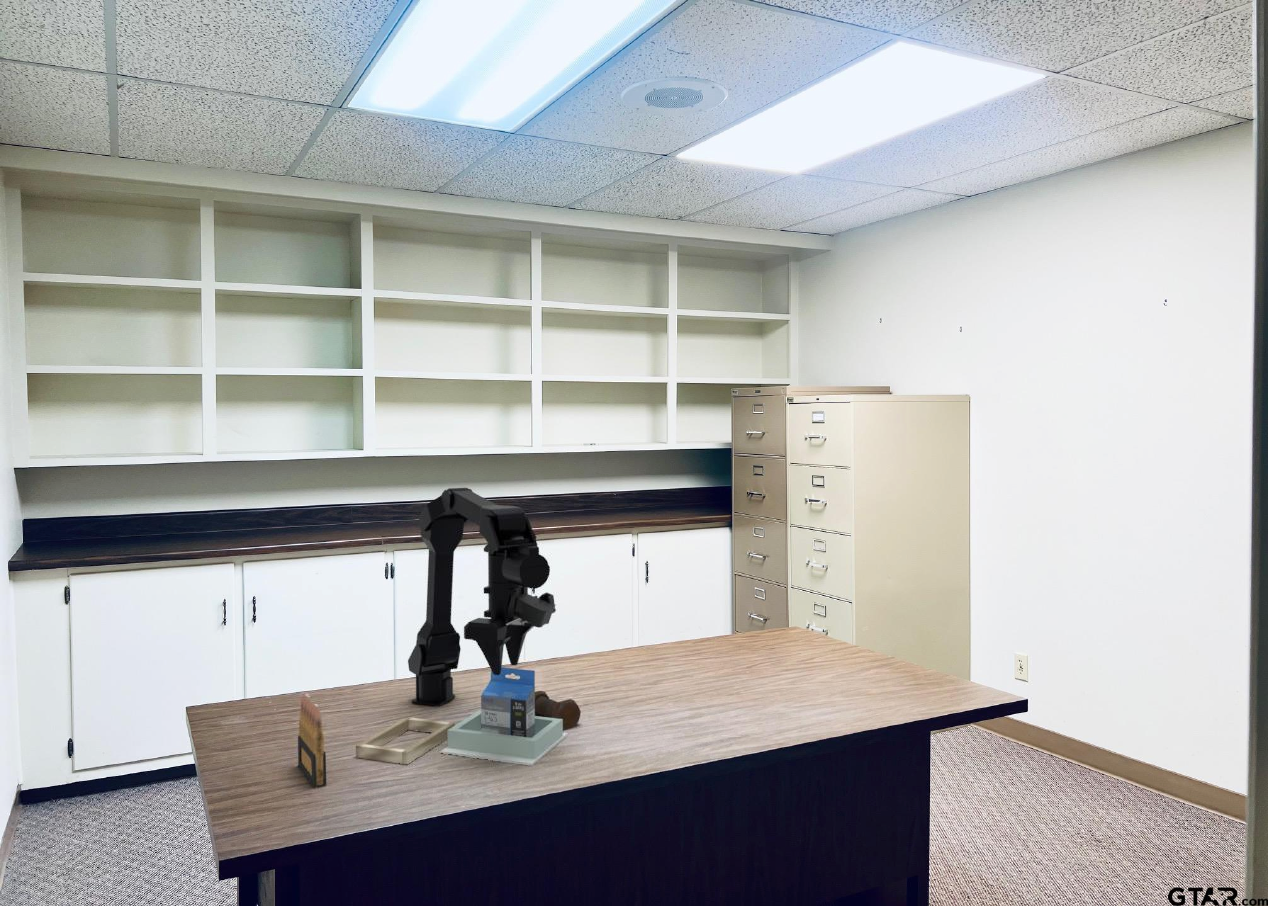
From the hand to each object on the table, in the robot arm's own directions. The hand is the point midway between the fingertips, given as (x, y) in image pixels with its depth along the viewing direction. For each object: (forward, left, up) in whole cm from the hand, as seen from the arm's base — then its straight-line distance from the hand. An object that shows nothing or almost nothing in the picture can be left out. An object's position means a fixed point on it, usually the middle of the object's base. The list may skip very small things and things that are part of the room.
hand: (505, 669), depth 152 cm
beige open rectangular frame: (-16, -6, -13) cm, 21 cm away
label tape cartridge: (0, 0, -13) cm, 13 cm away
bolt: (+1, +15, -14) cm, 20 cm away
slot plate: (0, 0, -13) cm, 13 cm away
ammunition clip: (-23, -22, -13) cm, 34 cm away
